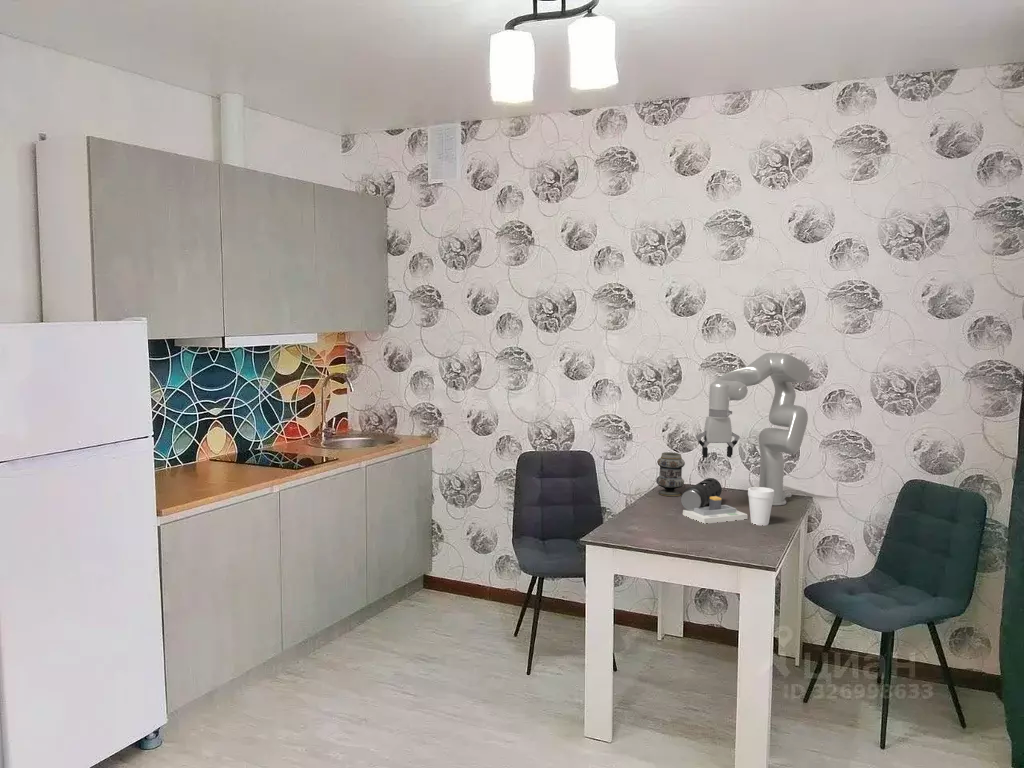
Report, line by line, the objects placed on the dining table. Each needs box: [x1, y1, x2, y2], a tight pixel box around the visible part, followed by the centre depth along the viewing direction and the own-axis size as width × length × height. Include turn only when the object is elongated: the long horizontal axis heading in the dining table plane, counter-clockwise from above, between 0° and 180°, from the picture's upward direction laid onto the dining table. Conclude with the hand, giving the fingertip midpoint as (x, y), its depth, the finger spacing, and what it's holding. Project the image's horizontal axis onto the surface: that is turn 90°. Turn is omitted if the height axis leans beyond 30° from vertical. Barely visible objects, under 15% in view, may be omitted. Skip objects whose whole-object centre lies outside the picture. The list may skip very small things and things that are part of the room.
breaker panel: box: [682, 504, 749, 525], centre depth 312 cm, size 20×14×4 cm
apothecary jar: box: [655, 451, 686, 497], centre depth 351 cm, size 12×12×18 cm
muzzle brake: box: [680, 477, 723, 511], centre depth 325 cm, size 10×28×10 cm, turn 150°
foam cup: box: [747, 486, 774, 526], centre depth 303 cm, size 10×9×13 cm
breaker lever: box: [708, 496, 722, 510], centre depth 311 cm, size 3×3×6 cm
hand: (717, 457), depth 314 cm, fingers open, 9 cm apart
